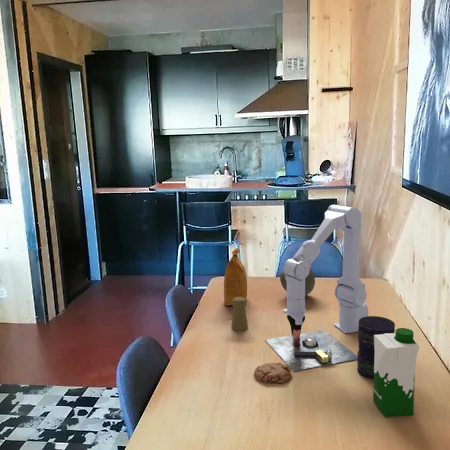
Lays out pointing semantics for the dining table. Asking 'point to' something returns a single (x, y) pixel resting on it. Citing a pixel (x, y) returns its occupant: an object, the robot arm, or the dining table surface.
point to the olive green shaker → (239, 314)
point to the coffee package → (234, 279)
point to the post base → (302, 362)
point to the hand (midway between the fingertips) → (295, 336)
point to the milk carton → (395, 372)
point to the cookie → (272, 373)
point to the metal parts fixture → (312, 351)
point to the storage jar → (370, 342)
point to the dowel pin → (329, 355)
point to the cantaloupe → (308, 282)
